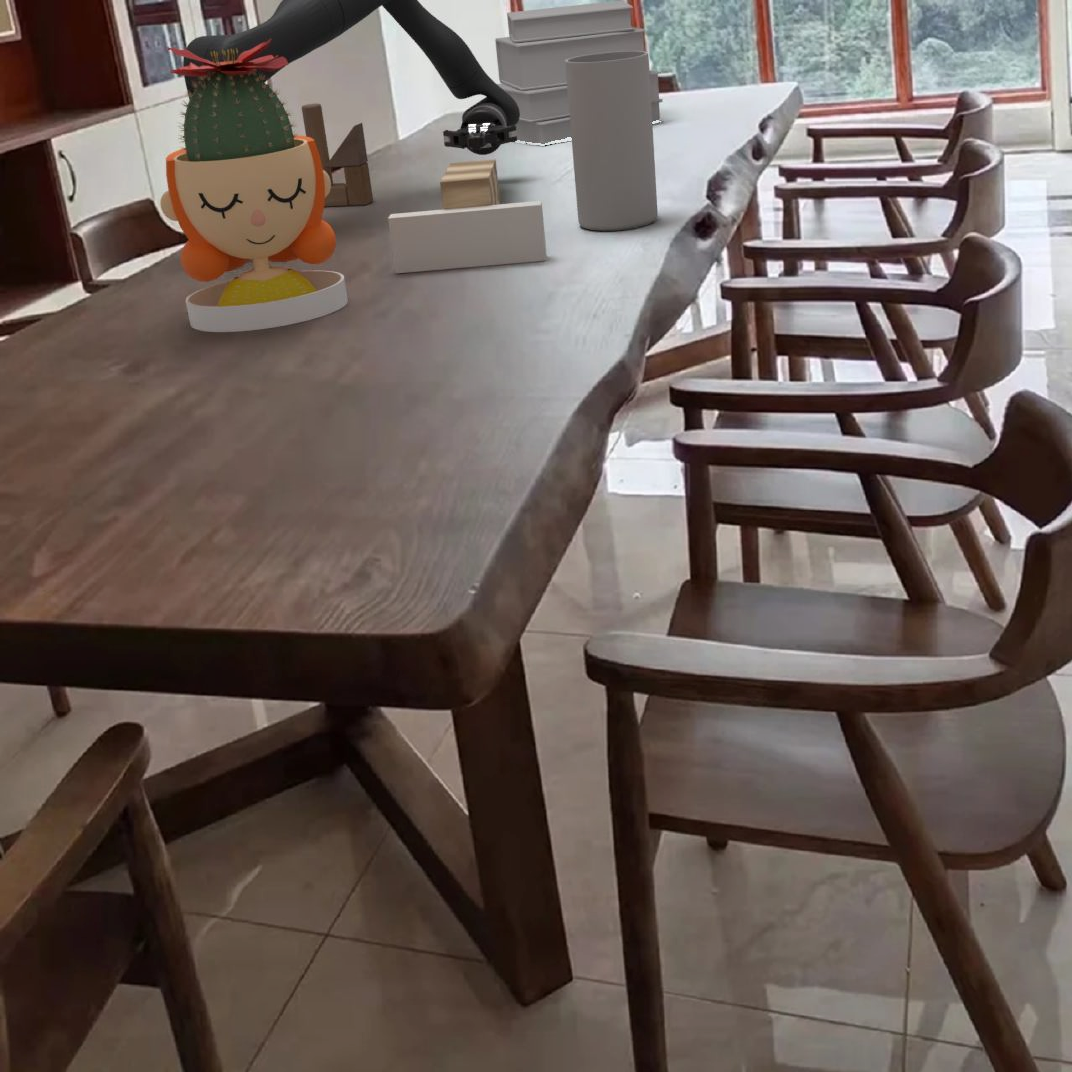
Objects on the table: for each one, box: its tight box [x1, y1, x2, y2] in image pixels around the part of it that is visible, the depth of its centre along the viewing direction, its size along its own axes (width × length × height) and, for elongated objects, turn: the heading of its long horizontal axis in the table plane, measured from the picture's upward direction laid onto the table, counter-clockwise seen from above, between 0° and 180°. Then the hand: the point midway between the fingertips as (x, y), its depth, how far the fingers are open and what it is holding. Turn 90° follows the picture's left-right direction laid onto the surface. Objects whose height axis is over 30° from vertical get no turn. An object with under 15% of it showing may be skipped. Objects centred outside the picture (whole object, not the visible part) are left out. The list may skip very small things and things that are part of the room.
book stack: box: [494, 0, 664, 144], centre depth 307 cm, size 30×35×26 cm
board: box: [387, 200, 548, 274], centre depth 202 cm, size 3×22×8 cm, turn 87°
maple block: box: [439, 158, 501, 210], centre depth 209 cm, size 16×7×12 cm, turn 177°
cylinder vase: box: [565, 50, 659, 232], centre depth 214 cm, size 12×12×25 cm
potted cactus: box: [159, 39, 349, 333], centre depth 184 cm, size 22×22×35 cm
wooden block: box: [301, 103, 374, 208], centre depth 253 cm, size 4×11×18 cm, turn 73°
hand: (475, 143), depth 225 cm, fingers closed
